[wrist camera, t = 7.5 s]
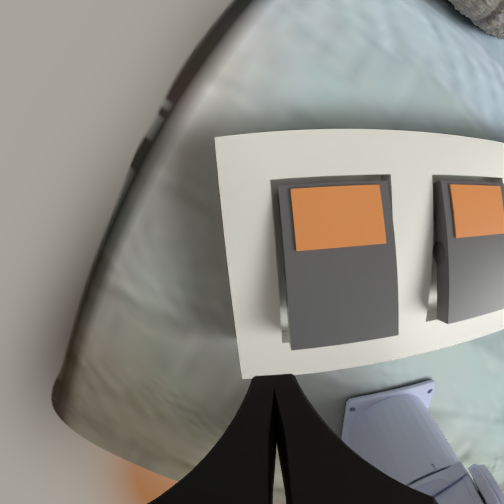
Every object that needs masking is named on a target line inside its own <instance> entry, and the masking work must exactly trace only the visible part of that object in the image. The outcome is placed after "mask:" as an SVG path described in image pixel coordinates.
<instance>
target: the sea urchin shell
mask: <svg viewBox="0 0 504 504" xmlns="http://www.w3.org/2000/svg"><path fill="white" fill-rule="evenodd" d="M448 1H450V2H451V3H452V5H454V8H455V9H456V10H458V11H460V13H461V14H462V15H465V16H466V17H468V18H470V19H471V20H472V22H473V23H474V25H475V26H479V28H481V29H483V30H484V31H485V32H486V34H492V35H494V36H496V37H497V38H498V39H504V0H448Z"/></svg>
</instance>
